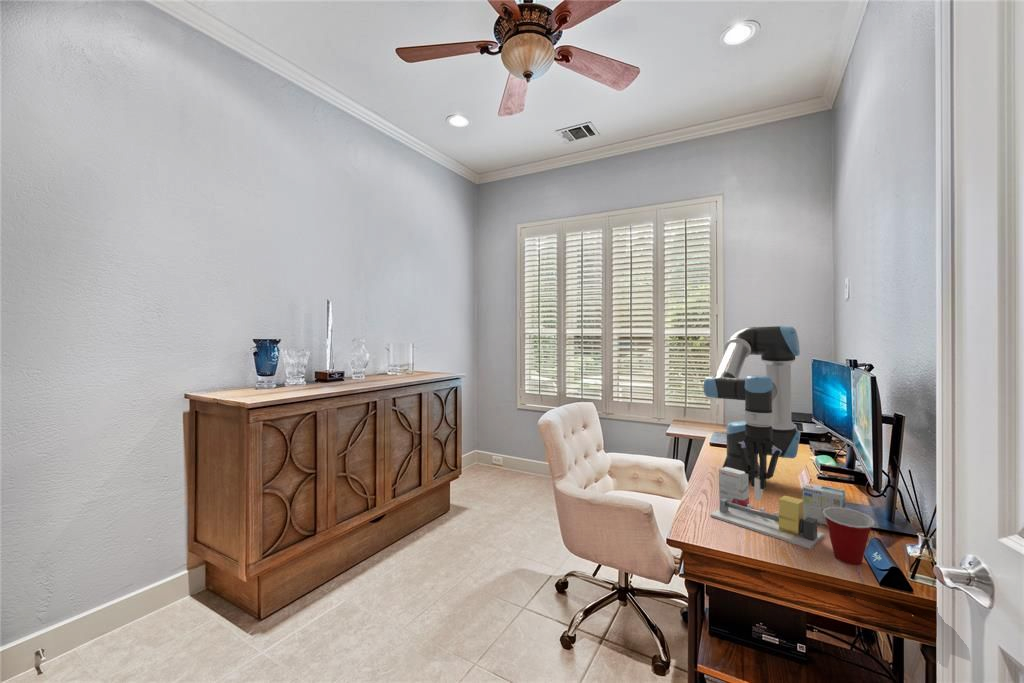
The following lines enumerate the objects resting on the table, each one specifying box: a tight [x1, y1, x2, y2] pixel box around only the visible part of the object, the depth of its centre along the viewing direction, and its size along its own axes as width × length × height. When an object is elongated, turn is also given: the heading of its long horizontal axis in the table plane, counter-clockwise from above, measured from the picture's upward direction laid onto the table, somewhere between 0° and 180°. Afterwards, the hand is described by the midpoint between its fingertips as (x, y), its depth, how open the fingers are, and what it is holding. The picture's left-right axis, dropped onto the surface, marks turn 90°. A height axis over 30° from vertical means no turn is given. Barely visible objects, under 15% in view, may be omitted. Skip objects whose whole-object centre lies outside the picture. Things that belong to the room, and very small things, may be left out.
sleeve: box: [778, 495, 804, 535], centre depth 125 cm, size 5×5×9 cm
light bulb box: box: [802, 482, 846, 526], centre depth 134 cm, size 11×7×11 cm, turn 45°
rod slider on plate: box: [710, 498, 824, 550], centre depth 130 cm, size 28×12×6 cm, turn 39°
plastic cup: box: [823, 507, 875, 566], centre depth 110 cm, size 11×11×12 cm
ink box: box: [718, 467, 750, 507], centre depth 149 cm, size 9×5×12 cm, turn 33°
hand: (758, 497), depth 132 cm, fingers closed
